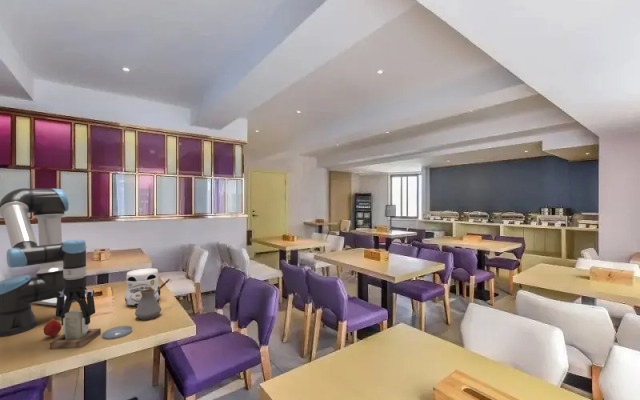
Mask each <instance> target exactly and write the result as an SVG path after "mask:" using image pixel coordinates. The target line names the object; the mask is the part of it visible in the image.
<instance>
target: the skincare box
mask: <svg viewBox="0 0 640 400" xmlns="http://www.w3.org/2000/svg"><path fill="white" fill-rule="evenodd" d="M83 317H84V315H83V313H82V310H81V309H73V310H71V311H70V310H69V312H68V313H65V340H76V339H81V338H82V337H84V336H85V335H87V332H86V333H84V334H82V318H83Z"/></svg>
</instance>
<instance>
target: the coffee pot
mask: <svg viewBox="0 0 640 400" xmlns="http://www.w3.org/2000/svg"><path fill="white" fill-rule="evenodd" d="M169 282H170V283H172V280H171V279H170V278H168V279H167V280H165V282H163V283H162V284H161V285H159V288H158V290H156V291H155V290H154V289H148V290H143V291H141V292H140V293H141V294H142V297H141V300H140V302H139V304H138V306H136V309H135V312H134V315H135V317H136V318H137V319H139V320H141V321H142V320H151V319H154V318H156V317H157V316H158V315H159V314H160V312H161V311H162V308H161V305H160V304H159V302H158V300H156V298H155V296H154V295H155V294H156V293H157V292H158V291H159V290H160V291H161V289H162V288H164V286H166V284H168V283H169Z"/></svg>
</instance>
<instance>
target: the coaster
mask: <svg viewBox="0 0 640 400" xmlns="http://www.w3.org/2000/svg"><path fill="white" fill-rule="evenodd" d="M132 332H133V327H132V326H130V325H120V326H115V327H111V328H108V329H106V330H105V331H103V332H102V334H101V336H102V339H104V340H115V339H120V338H124V337H126V336H128V335H130V334H131V333H132Z"/></svg>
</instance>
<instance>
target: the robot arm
mask: <svg viewBox="0 0 640 400" xmlns="http://www.w3.org/2000/svg"><path fill="white" fill-rule="evenodd" d="M69 206H70V205H69V199H68V196H67V193H66V192H65V191H64V190H63V189H61V188H43V187H42V188H41V187H39V188H25V187H24V188H23V187H22V188H18V189H14V190H11V191H10V192H8V193H7V194H5V195H4V196H3V197H2V198H1V199H0V216H1V217H2V218H3V220H4V223H5V227H6V230H7V235H8V238H9V242H10V247H11V248H9V249H7V251H6V264H7V266H8V267H10V268H21V267H29V266H34V265H36V266H37V265H39V269H38V271H36V272H35V274H36V276H34V277H32V276H31V275H29V274H25V275H18V276H14V277H10V278H5V279H3V280H0V337H6V336H5V335H7V336H12V335H17V334H20V333H23V332H26V331H29V330H31V329H33V328H35V327H36V326H38V319H37V317H36V316H35V314H34V311H33V310H32V304H34V302H38V301H43V300H48V299H52V298H57V305H56V307H55V317H56V318H60V319H61V320H60V321H61V322H60V323H61V326H62V328H63V330H62V331H63V332H62V333H63V334H65V313H68V312H70V309H71V307H72V304H73V302H74V301H73V300H76V302H77V303H78V305H79V307H80V310H82V313H83V315H84V317H83V318H82V334H84V333H86V332H87V331H89V329H90V326H89V325H90V324H91V316H92V315H94V314H96V306H95V298H94V295H95V290H93V289H92V290H89V289H87V245H86V240H84V239H69V240H64V241H63V238H62V237H63V235H62V232H63V231H62V218H63V217H64V216H65V212H68V211H69ZM29 213H30V214H31V213H32V216H33V218H35V219H36V220H37V228H38V243H37V240H36V237H35V233H34V230H33V227H32V224H31V221H30V218H29V215H28V214H29ZM85 294H86V297H85ZM64 296H66V300H65V304H64V298H65V297H64ZM81 298H82V299H81ZM63 334H62V335H63Z"/></svg>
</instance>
